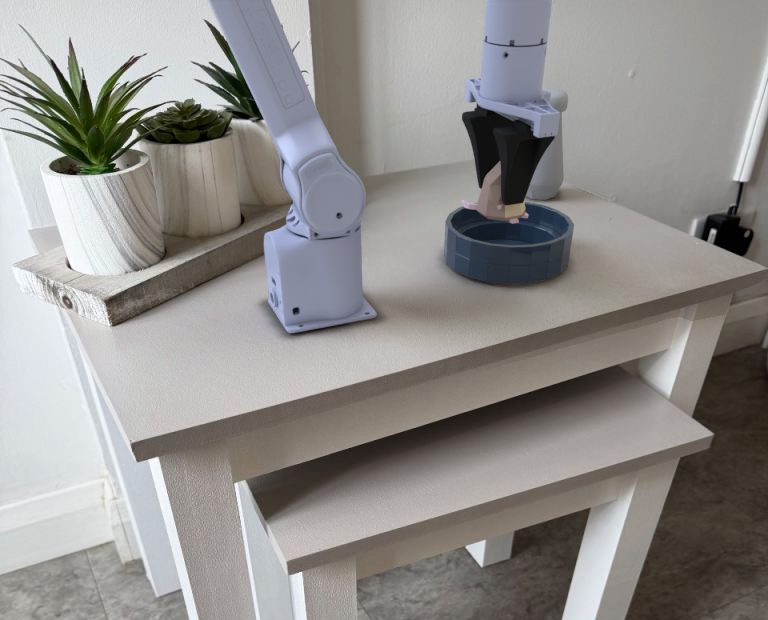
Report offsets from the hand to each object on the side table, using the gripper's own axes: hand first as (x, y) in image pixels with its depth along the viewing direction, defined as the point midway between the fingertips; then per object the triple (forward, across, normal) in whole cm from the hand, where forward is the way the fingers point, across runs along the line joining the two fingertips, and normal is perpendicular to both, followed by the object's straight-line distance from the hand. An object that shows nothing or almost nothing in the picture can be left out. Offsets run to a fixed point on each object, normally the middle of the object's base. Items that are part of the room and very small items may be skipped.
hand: (500, 195), depth 80 cm
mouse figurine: (+2, +1, 0) cm, 3 cm away
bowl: (+10, +6, -5) cm, 12 cm away
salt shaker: (+10, +24, -20) cm, 32 cm away
